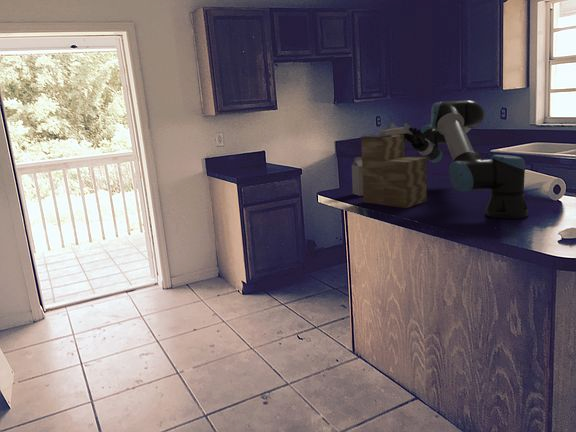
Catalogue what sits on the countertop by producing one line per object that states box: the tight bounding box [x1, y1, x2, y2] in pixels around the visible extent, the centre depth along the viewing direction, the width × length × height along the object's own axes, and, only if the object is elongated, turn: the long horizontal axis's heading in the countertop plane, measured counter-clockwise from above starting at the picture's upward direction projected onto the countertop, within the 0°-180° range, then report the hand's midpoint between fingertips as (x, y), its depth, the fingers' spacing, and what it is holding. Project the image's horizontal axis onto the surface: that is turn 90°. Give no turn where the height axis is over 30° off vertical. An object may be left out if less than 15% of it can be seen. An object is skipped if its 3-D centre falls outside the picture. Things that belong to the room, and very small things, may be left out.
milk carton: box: [351, 156, 363, 197], centre depth 252 cm, size 7×7×19 cm
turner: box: [361, 126, 409, 139], centre depth 231 cm, size 27×10×3 cm, turn 131°
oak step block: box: [361, 135, 428, 209], centre depth 228 cm, size 16×24×30 cm, turn 41°
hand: (397, 125), depth 235 cm, fingers open, 7 cm apart
